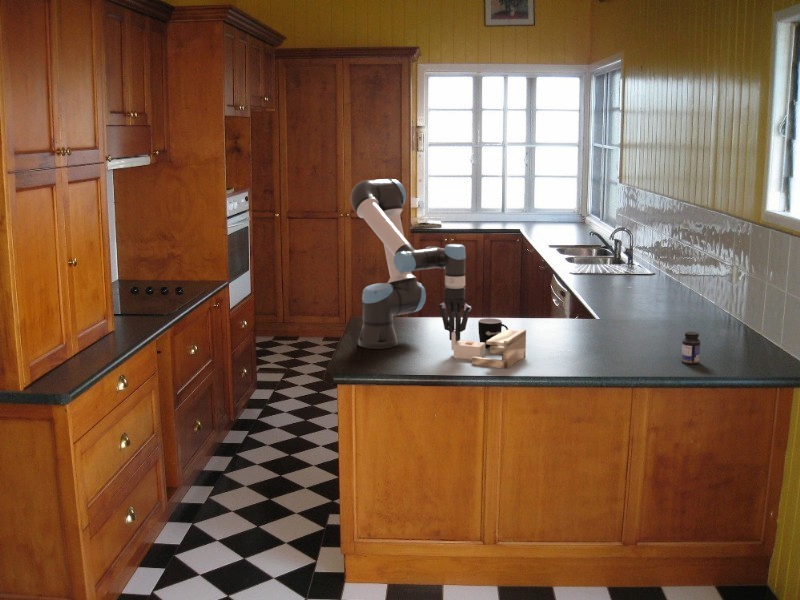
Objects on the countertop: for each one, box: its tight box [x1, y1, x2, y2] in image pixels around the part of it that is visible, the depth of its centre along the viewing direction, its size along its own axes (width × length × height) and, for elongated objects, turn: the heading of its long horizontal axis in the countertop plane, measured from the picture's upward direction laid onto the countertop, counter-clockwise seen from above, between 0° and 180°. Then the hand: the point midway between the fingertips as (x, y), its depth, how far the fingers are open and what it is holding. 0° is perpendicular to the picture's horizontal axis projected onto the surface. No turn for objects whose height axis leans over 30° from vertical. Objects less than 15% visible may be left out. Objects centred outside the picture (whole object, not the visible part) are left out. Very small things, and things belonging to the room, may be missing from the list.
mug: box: [477, 317, 509, 349], centre depth 341 cm, size 12×9×10 cm
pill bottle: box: [681, 330, 701, 365], centre depth 316 cm, size 6×6×11 cm
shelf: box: [471, 328, 527, 370], centre depth 321 cm, size 14×19×10 cm
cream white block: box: [453, 339, 486, 360], centre depth 326 cm, size 10×7×6 cm
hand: (454, 349), depth 329 cm, fingers closed
